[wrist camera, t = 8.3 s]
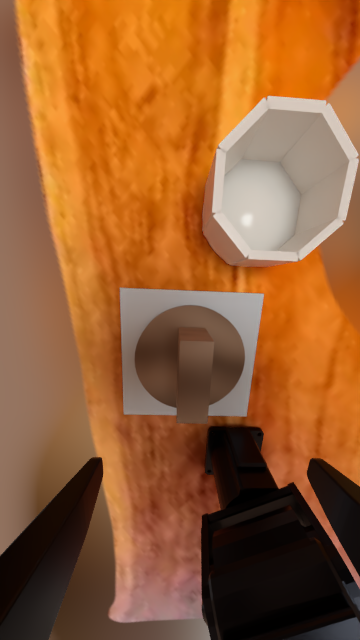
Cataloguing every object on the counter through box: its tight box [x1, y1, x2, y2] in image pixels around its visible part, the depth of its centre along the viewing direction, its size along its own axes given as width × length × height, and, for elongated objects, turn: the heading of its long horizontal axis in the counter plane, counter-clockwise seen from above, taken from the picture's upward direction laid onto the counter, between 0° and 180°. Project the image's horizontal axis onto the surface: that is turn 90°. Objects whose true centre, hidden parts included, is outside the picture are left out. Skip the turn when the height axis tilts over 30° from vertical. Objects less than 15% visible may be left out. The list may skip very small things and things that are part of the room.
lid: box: [135, 305, 245, 424], centre depth 16 cm, size 11×11×5 cm
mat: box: [120, 288, 264, 416], centre depth 18 cm, size 14×14×1 cm
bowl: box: [202, 96, 359, 267], centre depth 13 cm, size 9×9×5 cm
